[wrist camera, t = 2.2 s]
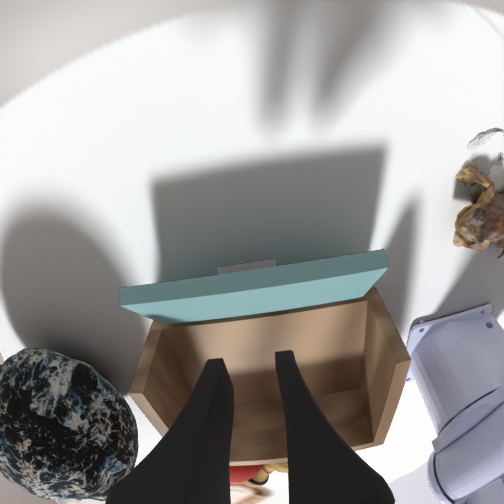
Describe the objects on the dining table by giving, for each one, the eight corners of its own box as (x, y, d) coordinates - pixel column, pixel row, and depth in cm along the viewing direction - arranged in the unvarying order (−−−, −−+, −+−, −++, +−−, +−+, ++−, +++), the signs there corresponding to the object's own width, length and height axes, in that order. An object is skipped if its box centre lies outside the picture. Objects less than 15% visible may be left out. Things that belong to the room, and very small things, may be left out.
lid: (358, 276, 21) (381, 239, 15) (362, 296, 20) (388, 267, 14) (164, 304, 22) (119, 279, 16) (165, 324, 22) (119, 305, 15)
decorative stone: (136, 429, 32) (113, 534, 19) (22, 376, 29) (-22, 469, 15) (170, 362, 25) (137, 526, 12) (14, 286, 22) (-74, 409, 9)
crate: (375, 288, 22) (411, 359, 15) (365, 382, 27) (382, 444, 21) (153, 319, 23) (128, 393, 17) (196, 403, 28) (188, 465, 22)
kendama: (345, 438, 36) (233, 424, 28) (350, 479, 31) (233, 481, 24) (306, 450, 40) (199, 436, 33) (309, 487, 35) (196, 483, 28)
